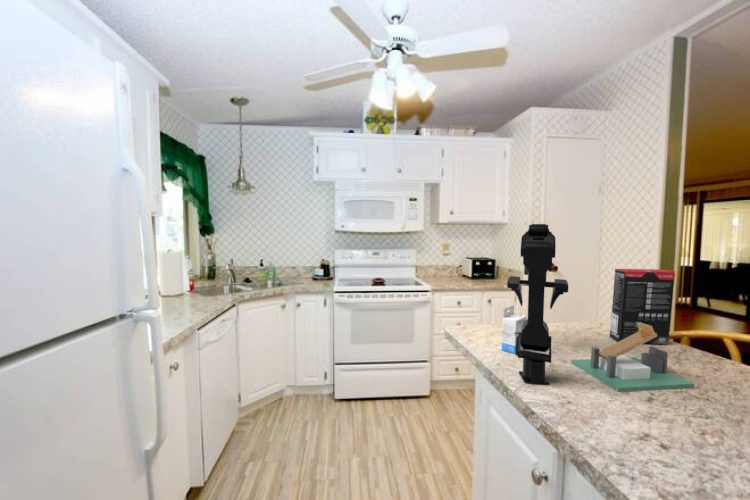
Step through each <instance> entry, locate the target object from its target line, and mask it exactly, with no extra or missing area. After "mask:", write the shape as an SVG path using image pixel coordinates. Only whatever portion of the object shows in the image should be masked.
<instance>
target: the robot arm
mask: <svg viewBox="0 0 750 500" xmlns="http://www.w3.org/2000/svg"><path fill="white" fill-rule="evenodd" d="M556 247H557V246H556V236H555V235H554V233H553V232H552V231H550V228H549V224H546V223H531V224H529V225H528V230H527V231H525V233H523V235H522V236H521V240H520V258H522V264H523V266H524V267H523V268H524V270H523V275H526V276H527V280H526V279H521V276H515V275H511V276H509V277H508V278H507V283H506V284H507V286H506V287H507V289H510V290H511V291H513V292H514V294H516V296H517V299H518V301H519V305H520V306H521V307H523V302H524V301H523V300H524V299H523V293H522V286H526V287H528V298H527V299H528V302H527V308H528V309H527V318H526V320H525V321H524V323H523V325H522V332H519V334H518V336H517V337H516V353H515V356H517V358H518V359H522V371H521V370H519V371H518V374H519V376H520V377H521V379H522V381H523V382H524V383H526V384H537V385H538V384H539V385H550V381H549V380H548V378H547V377H546V363H549V364H551V363H552V335H550V333H549V332H550V330H549V327H548V326H549V325H548V324H547V322H546V321H545V320H544V315H545V314H544V309H545V288H552V293H551V297H550V303H549V304H550V305H549V308H550V309H553V307H554V305H555V303H556V301H557V299H558V298H559V296H560V295H561V296H563V295H564V293H565V294H566V293H569V281H568V280H567V279H562V278H561V279H560V278H559V279H558V278H554V280H553V281H547V274H548V273H547V272H548V271H549V270H550V269H551V267H552V266H553V265H552V264H553V259H556ZM521 347H522V348H523V349H522V350H521ZM527 350H528V351H527ZM540 352H541V353H540ZM547 352H548V353H547Z"/></svg>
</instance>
